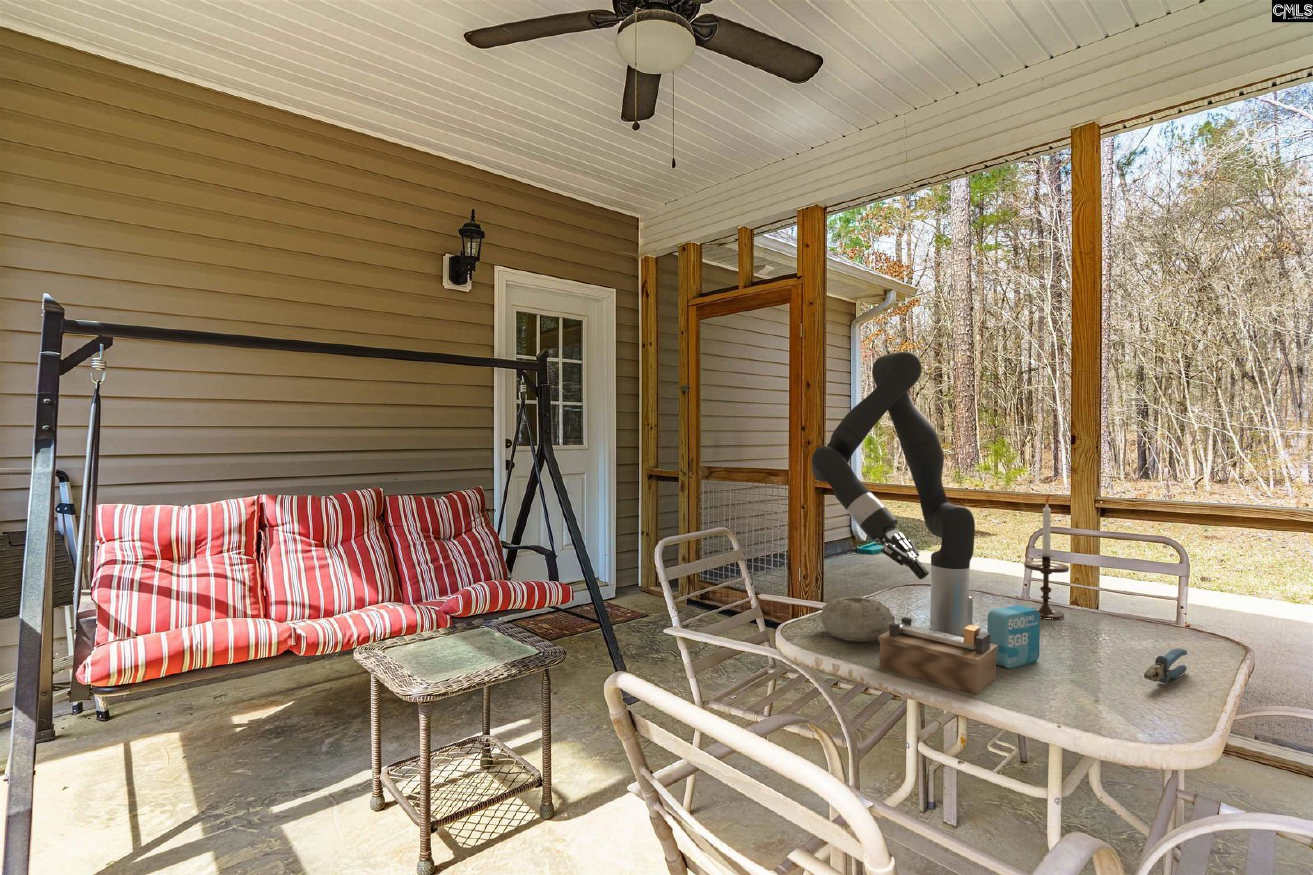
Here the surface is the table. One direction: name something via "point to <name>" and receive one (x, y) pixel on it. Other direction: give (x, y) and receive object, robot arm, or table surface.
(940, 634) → the latch bar
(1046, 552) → the candlestick
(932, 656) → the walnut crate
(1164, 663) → the pliers
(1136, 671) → the table surface
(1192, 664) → the table surface
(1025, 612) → the data package
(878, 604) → the grey rounded stone lump
